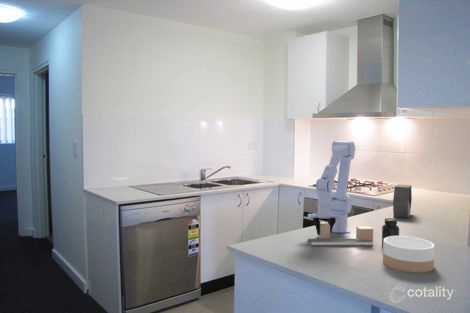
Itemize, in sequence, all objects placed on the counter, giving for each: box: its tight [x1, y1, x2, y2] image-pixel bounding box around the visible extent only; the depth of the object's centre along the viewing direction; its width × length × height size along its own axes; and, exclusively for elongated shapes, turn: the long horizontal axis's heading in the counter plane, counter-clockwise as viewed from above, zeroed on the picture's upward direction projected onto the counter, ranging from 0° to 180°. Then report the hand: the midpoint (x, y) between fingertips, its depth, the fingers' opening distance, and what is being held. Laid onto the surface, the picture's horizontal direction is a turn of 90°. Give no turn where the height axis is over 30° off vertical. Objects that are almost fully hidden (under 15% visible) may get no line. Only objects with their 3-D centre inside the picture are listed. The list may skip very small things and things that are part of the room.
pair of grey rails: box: [307, 238, 374, 247], centre depth 165 cm, size 8×26×2 cm, turn 91°
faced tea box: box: [355, 225, 374, 242], centre depth 165 cm, size 4×6×7 cm
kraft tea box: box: [317, 221, 331, 239], centre depth 172 cm, size 4×6×7 cm
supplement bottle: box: [381, 217, 400, 248], centre depth 159 cm, size 7×7×12 cm
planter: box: [392, 183, 413, 219], centre depth 218 cm, size 17×8×21 cm
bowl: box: [382, 235, 436, 273], centre depth 140 cm, size 17×17×8 cm
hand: (323, 234), depth 172 cm, fingers open, 4 cm apart
